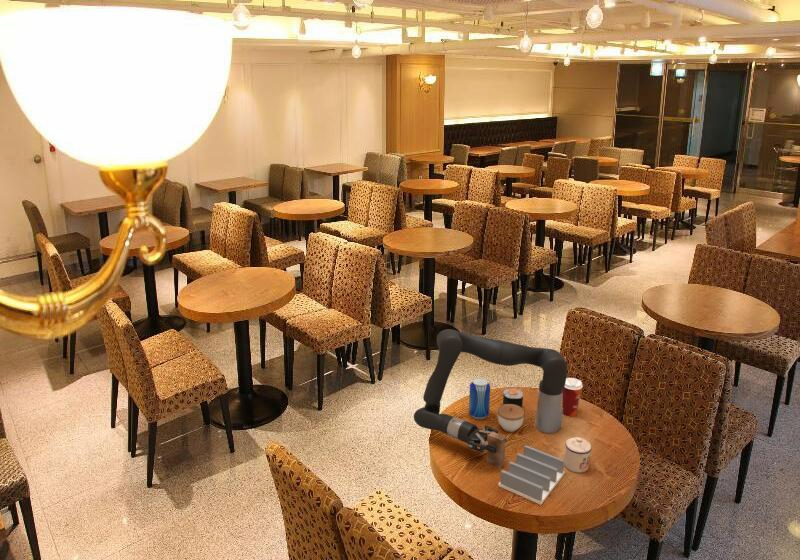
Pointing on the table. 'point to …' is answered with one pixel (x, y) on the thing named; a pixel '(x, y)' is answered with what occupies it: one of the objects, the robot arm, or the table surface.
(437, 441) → the table surface
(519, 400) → the sushi
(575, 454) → the teacup with lid
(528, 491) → the rack
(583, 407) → the table surface
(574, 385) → the coffee cup
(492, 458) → the walnut board
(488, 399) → the beer can
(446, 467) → the table surface
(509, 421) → the lidded jar
